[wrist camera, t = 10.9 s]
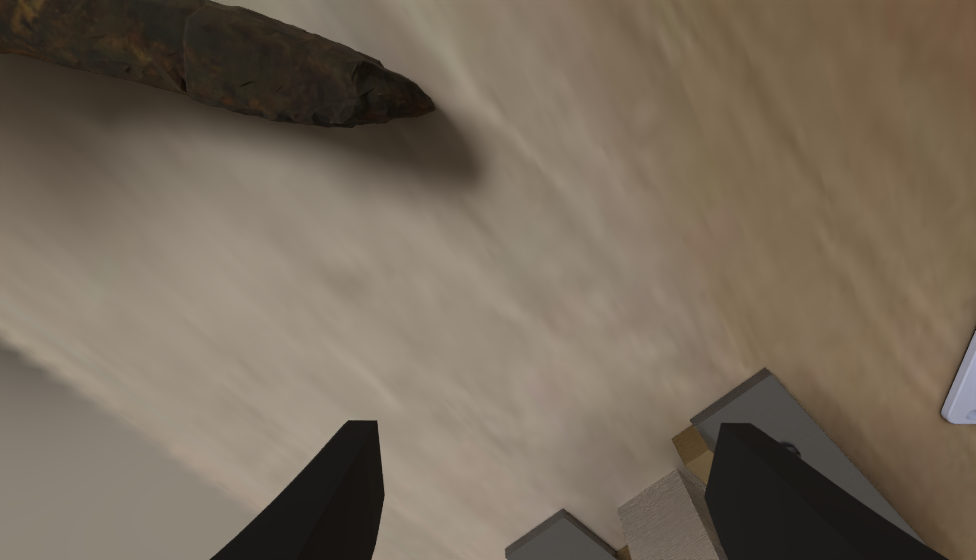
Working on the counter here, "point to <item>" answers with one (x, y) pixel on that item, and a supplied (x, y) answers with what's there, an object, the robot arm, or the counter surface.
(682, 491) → the aluminum bar stock
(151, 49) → the brown wooden log
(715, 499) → the robot arm
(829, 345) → the counter surface
